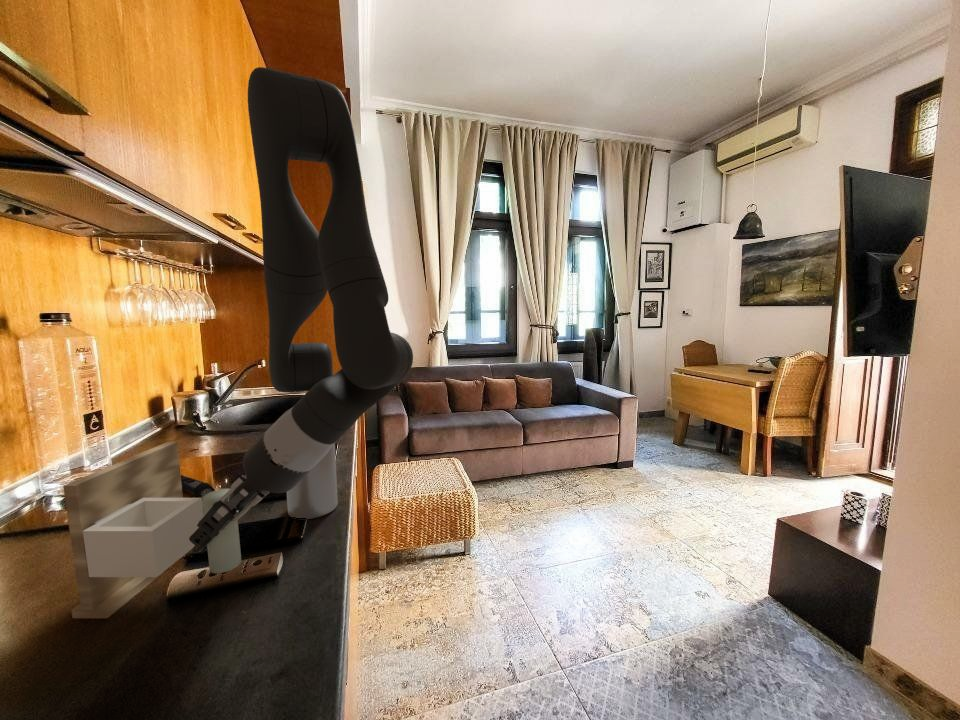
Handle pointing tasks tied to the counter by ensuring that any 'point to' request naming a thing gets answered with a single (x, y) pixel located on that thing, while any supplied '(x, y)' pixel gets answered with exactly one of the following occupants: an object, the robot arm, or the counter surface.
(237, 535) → the pale green rounded cylinder
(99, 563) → the grey open box
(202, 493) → the electric trimmer
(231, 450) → the counter surface
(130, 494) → the oak board
